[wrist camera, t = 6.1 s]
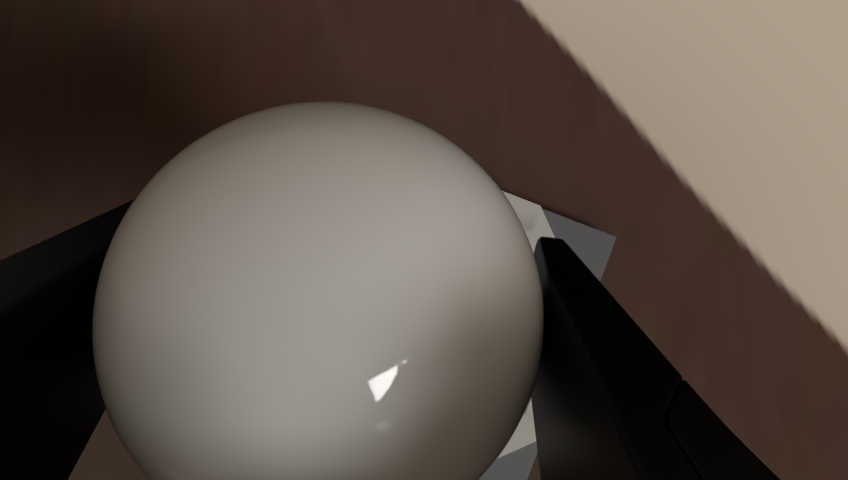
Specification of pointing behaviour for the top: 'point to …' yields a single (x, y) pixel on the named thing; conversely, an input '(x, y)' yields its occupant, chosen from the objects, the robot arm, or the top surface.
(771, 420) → the top surface
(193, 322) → the lightbulb
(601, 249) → the bulb stand
